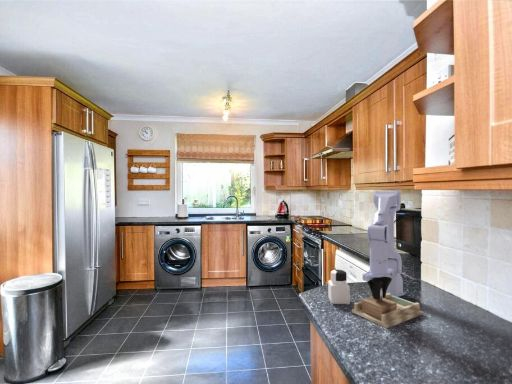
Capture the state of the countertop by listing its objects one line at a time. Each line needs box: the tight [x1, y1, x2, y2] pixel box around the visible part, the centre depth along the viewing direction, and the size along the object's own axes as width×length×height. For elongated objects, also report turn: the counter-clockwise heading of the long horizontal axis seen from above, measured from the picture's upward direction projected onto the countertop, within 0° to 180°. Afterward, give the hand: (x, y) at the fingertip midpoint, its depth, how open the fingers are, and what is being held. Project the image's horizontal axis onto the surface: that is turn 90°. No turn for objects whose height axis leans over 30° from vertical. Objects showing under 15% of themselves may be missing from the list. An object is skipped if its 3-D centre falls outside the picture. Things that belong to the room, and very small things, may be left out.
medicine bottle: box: [327, 269, 351, 305], centre depth 111 cm, size 7×7×12 cm
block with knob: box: [361, 288, 397, 319], centre depth 97 cm, size 8×8×9 cm
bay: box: [351, 293, 424, 329], centre depth 99 cm, size 20×14×4 cm
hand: (378, 298), depth 97 cm, fingers closed on block with knob, 2 cm apart
